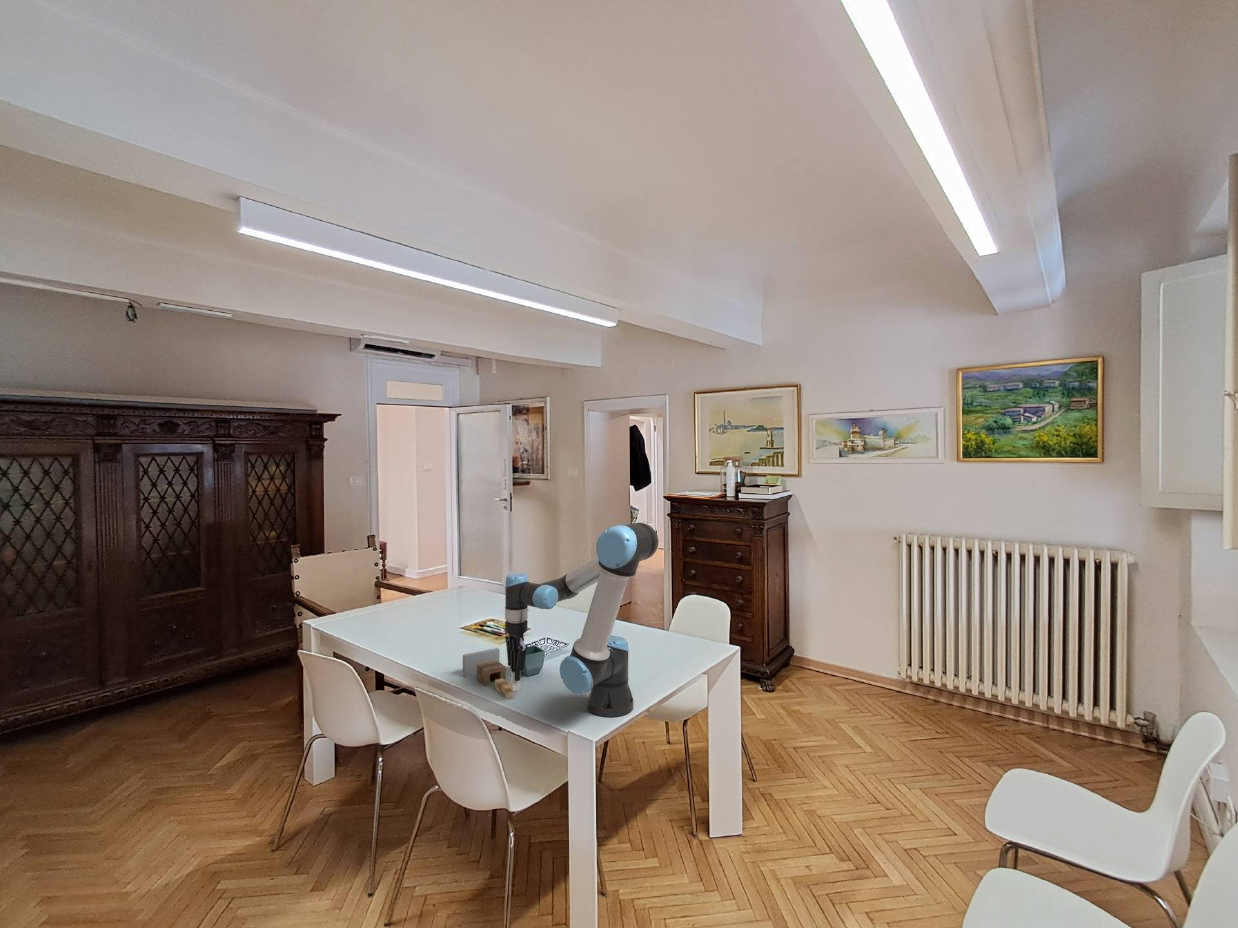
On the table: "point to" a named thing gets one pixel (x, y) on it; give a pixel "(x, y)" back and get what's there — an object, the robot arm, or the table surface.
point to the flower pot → (533, 660)
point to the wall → (478, 660)
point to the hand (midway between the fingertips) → (515, 688)
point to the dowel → (504, 687)
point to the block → (490, 672)
